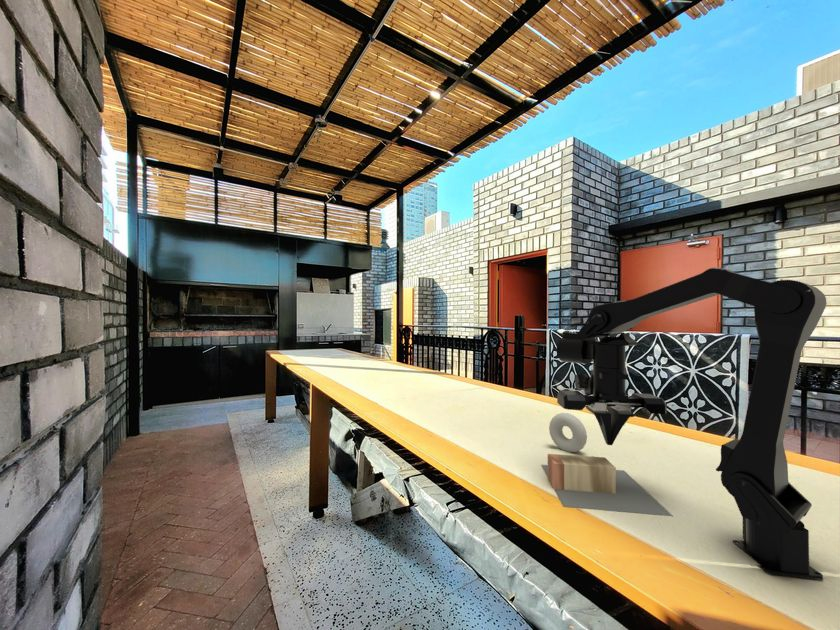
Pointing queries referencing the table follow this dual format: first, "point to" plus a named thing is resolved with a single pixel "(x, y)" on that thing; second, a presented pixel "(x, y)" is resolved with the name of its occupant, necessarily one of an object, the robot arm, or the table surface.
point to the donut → (576, 427)
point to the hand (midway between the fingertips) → (608, 444)
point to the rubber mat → (613, 498)
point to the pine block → (581, 473)
